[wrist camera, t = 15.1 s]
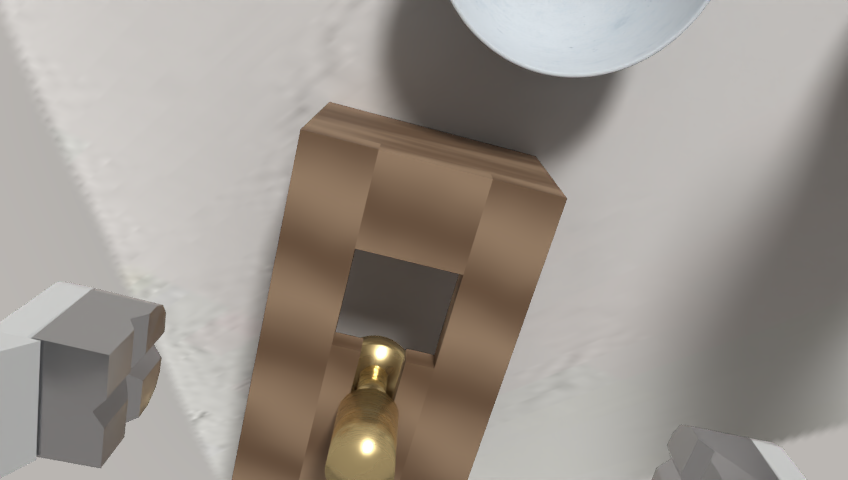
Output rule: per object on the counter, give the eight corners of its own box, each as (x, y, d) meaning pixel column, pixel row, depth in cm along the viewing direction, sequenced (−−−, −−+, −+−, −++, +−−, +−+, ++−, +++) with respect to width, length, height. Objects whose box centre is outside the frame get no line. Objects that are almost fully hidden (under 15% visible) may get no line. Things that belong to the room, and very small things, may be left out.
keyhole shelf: (329, 102, 41) (300, 129, 31) (535, 156, 42) (567, 198, 33) (265, 406, 49) (227, 501, 39) (440, 445, 50) (443, 546, 41)
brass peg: (418, 345, 41) (416, 445, 32) (401, 405, 43) (393, 518, 34) (347, 328, 41) (323, 424, 32) (332, 389, 43) (304, 499, 33)
